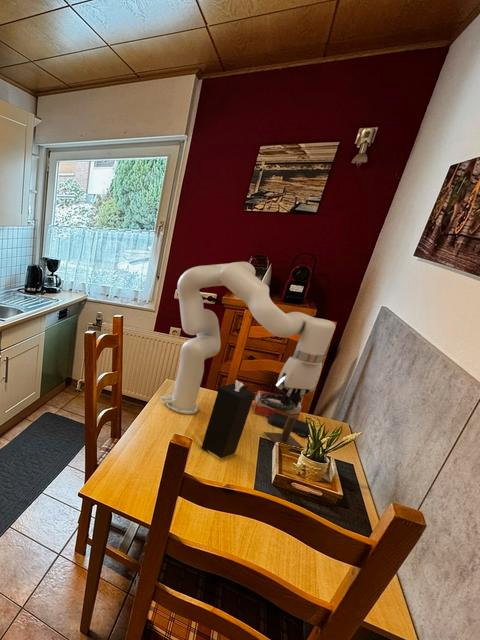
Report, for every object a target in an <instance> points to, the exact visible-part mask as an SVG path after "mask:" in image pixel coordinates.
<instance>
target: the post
mask: <svg viewBox="0 0 480 640" xmlns="http://www.w3.org/2000/svg"><path fill="white" fill-rule="evenodd" d="M296 418H297V417H296V416H293V415H289V416H288V418H287V421H286V424H285V426H284V429H282V431H281V432H270V431H268V432H267V431H265V432H264V433H263V434H264V435H265V436H266V437H267V438H268V439H269V440H270V441H271V442H272V443H273V444H275V443H276V442H280V443H283V444H286V445H290V446H295V447H299V448H303V449H304V448H305V447H304V446H303V445H302V444H301V443H300V442H299V441H297V440H296V439H295V438H294V437H293V436H292V435H291V433H292V432H291V431H292V428H293V426H294V423H295V421H296ZM299 448H298V449H299Z"/></svg>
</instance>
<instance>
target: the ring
mask: <svg viewBox="0 0 480 640" xmlns="http://www.w3.org/2000/svg"><path fill="white" fill-rule="evenodd" d="M282 395H283V394H279V395H278V393H275V392H269V393H264V394H261V395H260V401H261V402H262V403H263V404H264V405H266V406H268V407H270V408H273V409H277V410H280V411H291V410H294V409H295V408H296V406H295V403H294V402H293V401H292V400H290V402H289V404H288V405H281V404H277V403H274V402H272V401H270V400H268V399H275V400H279V401H281V398H282Z"/></svg>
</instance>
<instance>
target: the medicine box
mask: <svg viewBox="0 0 480 640" xmlns="http://www.w3.org/2000/svg"><path fill="white" fill-rule="evenodd" d="M264 393H270V392H269V391H266V390H265V391H264V390H261V389H260V390H258V391H257V394H256V395H255V398H254V401H253V413H254V414H257V415H260V416H264V417H268V418H269V415H270V414H273V413H276V414H280V415H283V416H286V417H288V416H289V415H293V416H296V417H297V418H296V420H299V417H300V414H301V412H302V408H303V407H302V403H301V400H300V401H299V404H298V406H297V407H296V408H295V409H294V410H291V411H280V410H277V409H273V408H270V407H268V406H266V405H264V404H263V403H262V402H261V401H260V395H261V394H264ZM277 394H278V393H277ZM278 395H280V394H278ZM268 400H270V401H272V402H274V403H277V404H281V402H280V401H279V400H275V399H268ZM281 405H283V404H281Z"/></svg>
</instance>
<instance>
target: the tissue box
mask: <svg viewBox="0 0 480 640" xmlns="http://www.w3.org/2000/svg"><path fill="white" fill-rule="evenodd" d="M244 386H245V384H244V383H243V382H241V381H239V380H238V379H235V383H230V384H227V385H223V386H219V387H218V389H217V394H216V397H215V400H214V403H213V406H212V409H211V414H210V417H209V420H208V424H207V426H206V430H205V433H204V437H203V440H202V443H201V449H202V450H203V451H205V452H207V453H208V454H209V453H212V454H214V455H215V456H217V457H218V458H220V459H224V458H227V457H228V456H231V455H234V454H236V453H237V449H238V445H239V444H240V443H239V442H240V440H241V437H242V434H243V431H244V428H245V425H246V422H247V419H248V417H249V414H250V411H251V408H252V404H253V403H254V400H255V398H256V392H254V391H251V390H249V389H246V388H245V387H244Z"/></svg>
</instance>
